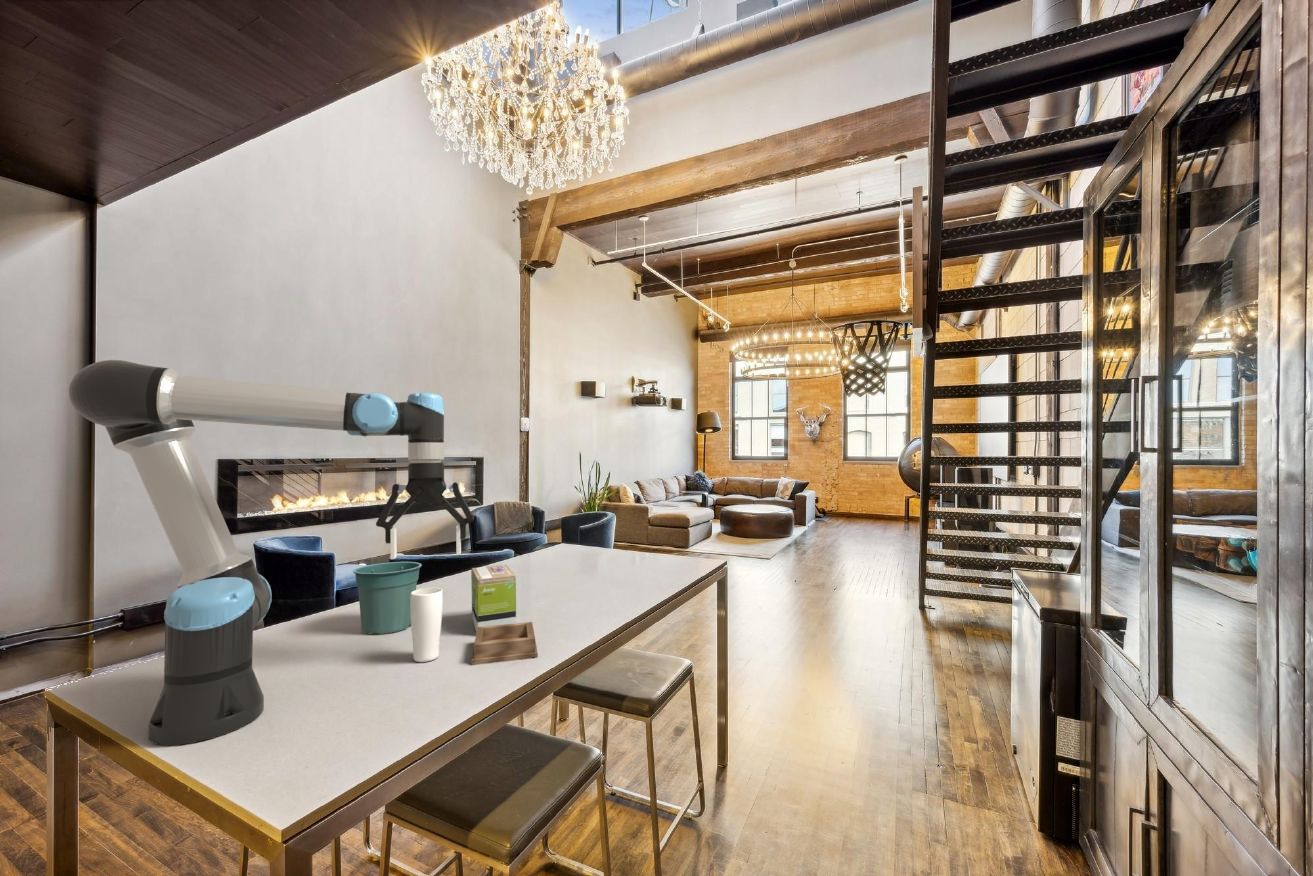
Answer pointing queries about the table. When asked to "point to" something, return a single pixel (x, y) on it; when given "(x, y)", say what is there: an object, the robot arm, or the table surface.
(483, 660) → the walnut dock
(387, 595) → the flower pot
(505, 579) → the tea box
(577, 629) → the table surface
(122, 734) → the table surface
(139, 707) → the table surface
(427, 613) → the drinking glass
